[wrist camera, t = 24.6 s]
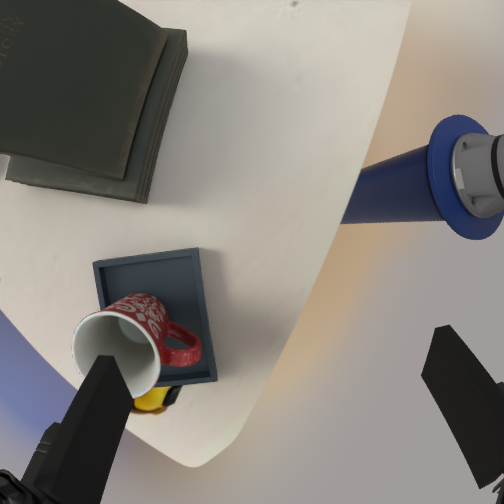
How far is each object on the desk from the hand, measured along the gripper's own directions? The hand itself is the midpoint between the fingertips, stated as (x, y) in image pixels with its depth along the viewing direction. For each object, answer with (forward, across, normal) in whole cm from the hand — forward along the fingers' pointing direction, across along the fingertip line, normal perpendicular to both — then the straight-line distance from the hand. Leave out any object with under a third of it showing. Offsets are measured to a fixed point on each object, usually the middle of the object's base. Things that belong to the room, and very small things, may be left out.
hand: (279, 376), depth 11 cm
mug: (+24, -15, -13) cm, 31 cm away
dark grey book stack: (+32, -20, +15) cm, 41 cm away
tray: (+24, -15, -13) cm, 31 cm away
